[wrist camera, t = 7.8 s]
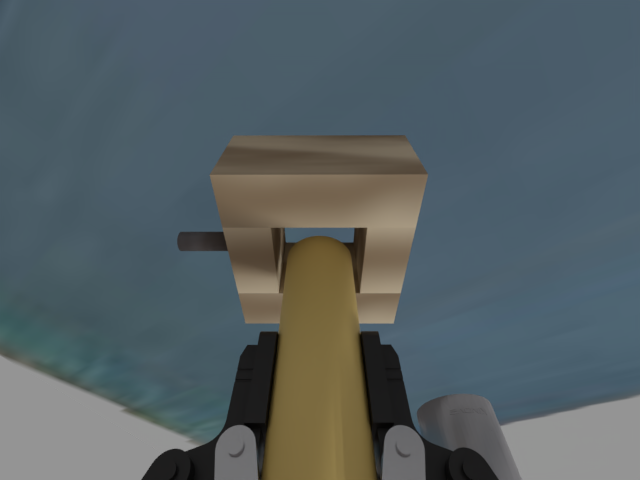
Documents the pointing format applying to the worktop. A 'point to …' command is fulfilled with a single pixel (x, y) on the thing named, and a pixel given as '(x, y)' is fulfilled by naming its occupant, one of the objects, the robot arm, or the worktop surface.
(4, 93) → the worktop surface
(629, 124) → the worktop surface
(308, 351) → the peg
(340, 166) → the socket mount
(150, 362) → the worktop surface
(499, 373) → the worktop surface
